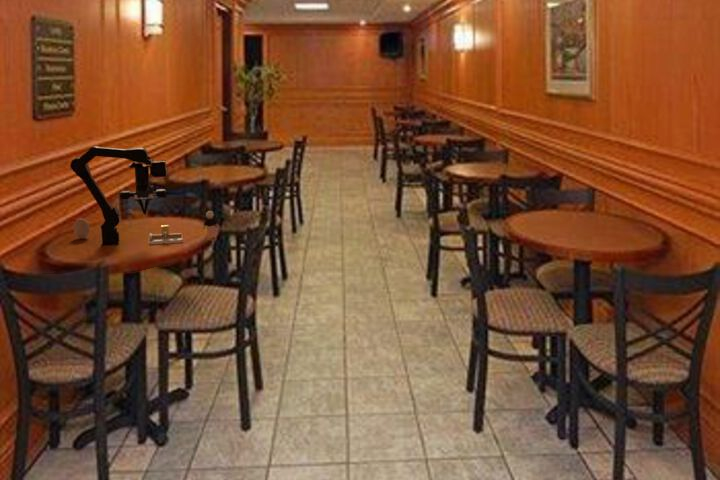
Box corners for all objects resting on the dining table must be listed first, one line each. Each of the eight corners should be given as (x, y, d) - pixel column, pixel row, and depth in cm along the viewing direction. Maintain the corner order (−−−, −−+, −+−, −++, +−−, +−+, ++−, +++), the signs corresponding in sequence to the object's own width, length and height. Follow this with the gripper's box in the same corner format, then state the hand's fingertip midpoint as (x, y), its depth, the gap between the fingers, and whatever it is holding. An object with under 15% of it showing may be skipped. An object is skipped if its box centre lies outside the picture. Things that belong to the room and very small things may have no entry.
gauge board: (148, 244, 324) (148, 236, 324) (149, 239, 334) (148, 232, 333) (182, 242, 328) (182, 234, 327) (182, 237, 337) (181, 230, 336)
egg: (93, 237, 339) (91, 217, 337) (83, 240, 333) (81, 220, 331) (81, 236, 341) (80, 216, 339) (71, 239, 335) (69, 219, 333)
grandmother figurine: (214, 237, 336) (213, 209, 334) (220, 238, 334) (219, 210, 331) (201, 240, 331) (199, 211, 328) (207, 241, 328) (205, 212, 325)
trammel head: (162, 238, 326) (161, 228, 325) (162, 235, 332) (161, 225, 331) (169, 238, 327) (168, 227, 326) (169, 235, 333) (168, 224, 332)
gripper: (118, 181, 314) (121, 218, 317) (165, 179, 318) (167, 216, 322) (119, 177, 324) (122, 214, 328) (164, 176, 329) (167, 211, 332)
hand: (144, 214), depth 327 cm, fingers closed
